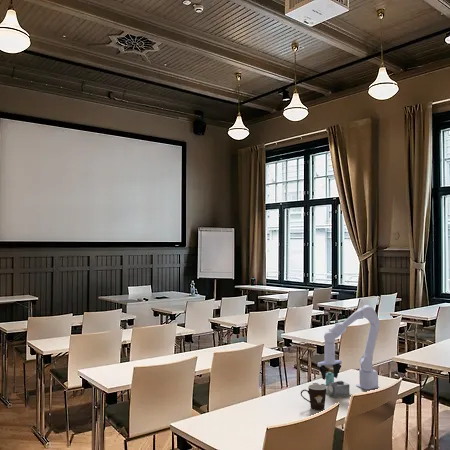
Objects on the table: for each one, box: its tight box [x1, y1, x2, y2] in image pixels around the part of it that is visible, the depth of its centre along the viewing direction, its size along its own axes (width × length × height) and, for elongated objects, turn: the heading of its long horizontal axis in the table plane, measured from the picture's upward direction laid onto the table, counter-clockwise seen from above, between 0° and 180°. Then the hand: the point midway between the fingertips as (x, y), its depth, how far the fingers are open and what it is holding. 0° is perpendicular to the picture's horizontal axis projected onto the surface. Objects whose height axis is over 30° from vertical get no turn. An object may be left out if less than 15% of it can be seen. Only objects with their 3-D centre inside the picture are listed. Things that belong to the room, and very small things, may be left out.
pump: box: [325, 371, 335, 386], centre depth 265 cm, size 4×4×7 cm
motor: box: [320, 380, 353, 399], centre depth 252 cm, size 11×15×6 cm
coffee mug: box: [300, 383, 327, 411], centre depth 230 cm, size 12×9×10 cm
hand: (329, 378), depth 265 cm, fingers open, 7 cm apart
